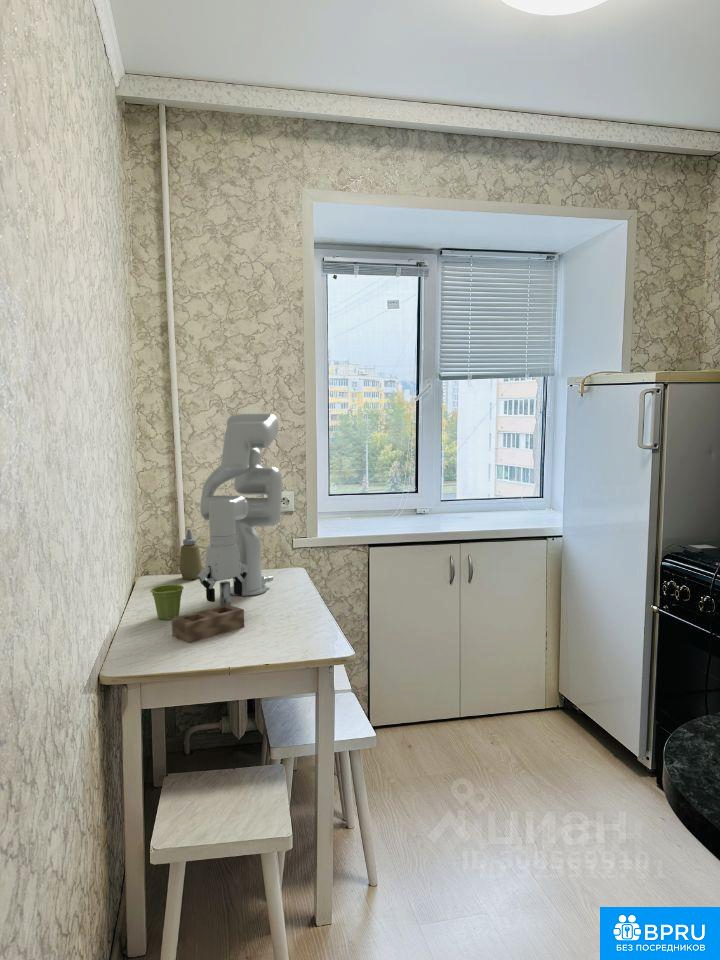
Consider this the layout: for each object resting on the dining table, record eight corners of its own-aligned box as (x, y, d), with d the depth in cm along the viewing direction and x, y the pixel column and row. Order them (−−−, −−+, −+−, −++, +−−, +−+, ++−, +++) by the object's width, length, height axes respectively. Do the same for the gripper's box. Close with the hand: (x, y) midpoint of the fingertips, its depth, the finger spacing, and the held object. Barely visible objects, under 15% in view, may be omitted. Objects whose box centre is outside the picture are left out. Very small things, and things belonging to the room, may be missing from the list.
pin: (227, 613, 206) (225, 580, 205) (233, 615, 204) (231, 582, 203) (218, 615, 204) (217, 582, 203) (224, 617, 202) (223, 584, 201)
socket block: (227, 621, 199) (227, 604, 198) (244, 626, 193) (243, 609, 193) (172, 636, 186) (171, 618, 185) (189, 643, 180) (188, 624, 180)
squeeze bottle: (181, 576, 254) (179, 528, 253) (203, 575, 255) (201, 527, 253) (178, 581, 246) (175, 532, 245) (201, 580, 247) (199, 531, 246)
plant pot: (151, 614, 207) (150, 586, 206) (183, 610, 210) (182, 583, 209) (152, 623, 198) (150, 593, 197) (185, 619, 201) (184, 590, 200)
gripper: (239, 535, 211) (240, 590, 212) (190, 543, 198) (192, 601, 200) (254, 538, 206) (256, 594, 207) (205, 546, 193) (207, 606, 194)
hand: (224, 598), depth 203 cm, fingers open, 9 cm apart
